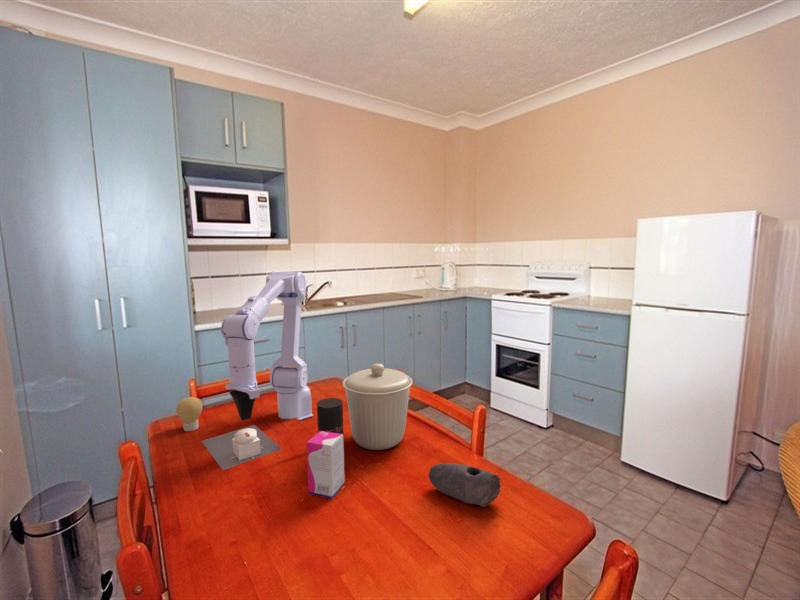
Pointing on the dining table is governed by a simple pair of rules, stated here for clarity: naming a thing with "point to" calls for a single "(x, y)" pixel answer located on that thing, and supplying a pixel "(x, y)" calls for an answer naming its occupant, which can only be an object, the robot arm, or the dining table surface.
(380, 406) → the canister
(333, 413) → the deodorant
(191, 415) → the light bulb
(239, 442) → the knob
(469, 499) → the perforated stone tool
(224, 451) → the panel
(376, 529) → the dining table surface
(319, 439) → the supplement box
